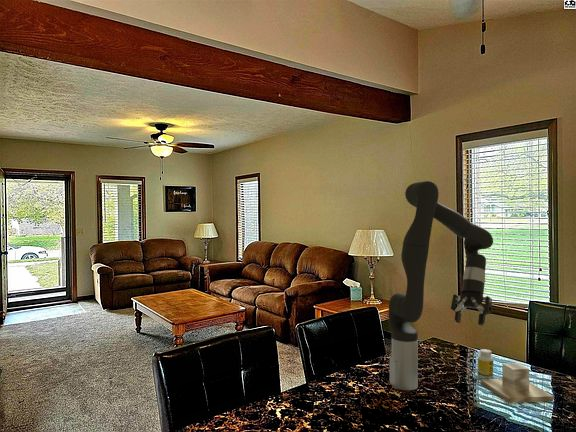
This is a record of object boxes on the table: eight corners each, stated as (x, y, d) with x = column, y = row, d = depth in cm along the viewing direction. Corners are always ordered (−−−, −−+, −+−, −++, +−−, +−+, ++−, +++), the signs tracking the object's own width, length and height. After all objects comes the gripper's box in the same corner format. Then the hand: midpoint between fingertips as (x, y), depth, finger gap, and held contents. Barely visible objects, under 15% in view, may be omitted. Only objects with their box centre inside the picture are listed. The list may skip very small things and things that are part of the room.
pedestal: (508, 402, 138) (508, 375, 138) (481, 383, 154) (481, 359, 154) (553, 400, 140) (553, 373, 140) (521, 381, 156) (521, 357, 156)
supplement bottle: (491, 379, 158) (491, 353, 158) (476, 376, 161) (476, 351, 161) (494, 375, 162) (494, 350, 162) (479, 372, 165) (479, 347, 165)
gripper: (451, 277, 161) (445, 319, 156) (488, 278, 150) (483, 323, 145) (460, 283, 165) (455, 324, 160) (497, 284, 154) (493, 328, 149)
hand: (468, 323), depth 152 cm, fingers open, 8 cm apart
